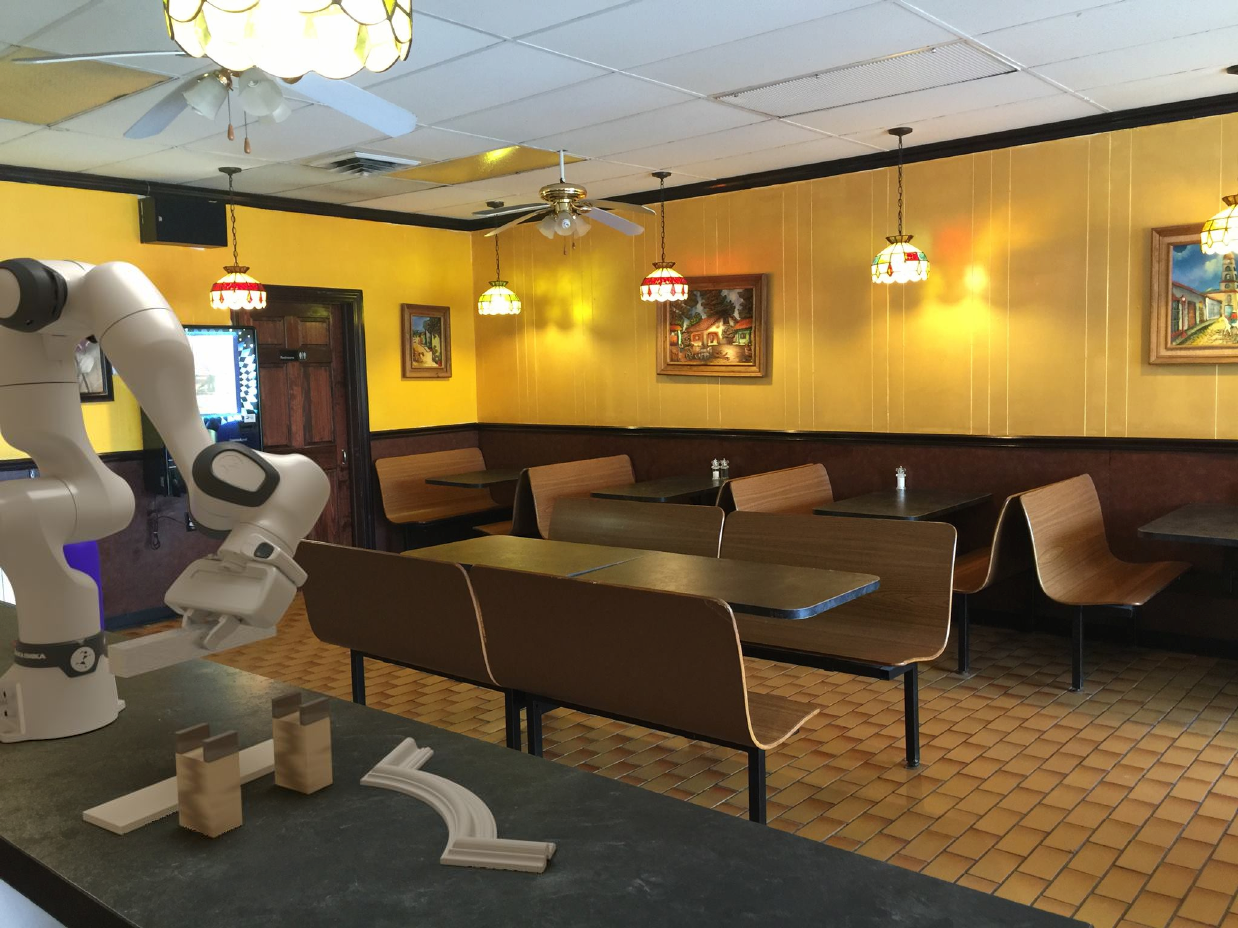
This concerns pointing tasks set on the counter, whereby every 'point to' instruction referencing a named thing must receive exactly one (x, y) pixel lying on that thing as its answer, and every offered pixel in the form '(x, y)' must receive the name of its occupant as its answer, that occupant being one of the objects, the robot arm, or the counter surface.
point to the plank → (170, 795)
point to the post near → (208, 780)
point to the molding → (457, 814)
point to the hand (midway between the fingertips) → (193, 645)
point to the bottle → (86, 565)
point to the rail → (175, 647)
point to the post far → (301, 743)
